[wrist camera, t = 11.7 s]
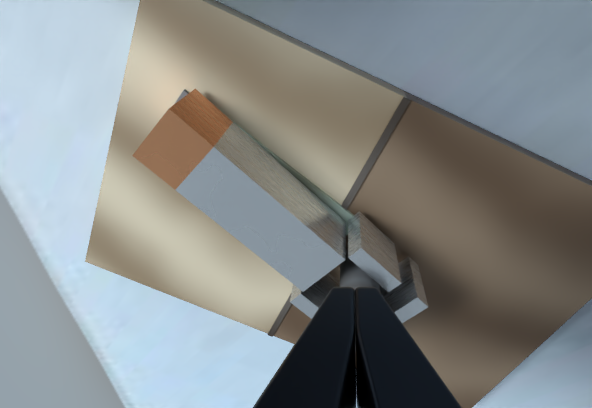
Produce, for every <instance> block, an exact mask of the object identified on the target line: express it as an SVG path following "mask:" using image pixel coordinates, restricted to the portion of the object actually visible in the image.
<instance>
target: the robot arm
mask: <svg viewBox="0 0 592 408" xmlns="http://www.w3.org/2000/svg"><path fill="white" fill-rule="evenodd" d="M355 335H356V341H355ZM356 387H357V408H462V407H461V406H460V404H459V403H458V402H457V400H456V399H455V397H454V396H453V395H452V393H451V392H450V390H449V389H448V387H447V386H446V385H445V383H444V382H443V380H442V379H441V378H440V376H439V375H438V373H437V372H436V371H435V369H434V368H433V366H432V365H431V363H430V362H429V361H428V359H427V358H426V356H425V355H424V354H423V352H422V351H421V349H420V348H419V346H418V345H417V344H416V342H415V341H414V339H413V338H412V337H411V335H410V334H409V332H408V331H407V330H406V328H405V327H404V325H403V324H402V322H401V321H400V320H399V318H398V317H397V315H396V314H395V313H394V311H393V310H392V308H391V307H390V305H389V304H388V303H387V301H386V300H385V298H384V297H383V296H382V294H381V293H380V291H379V290H378V289H377V288H376V287H357V288H356V289H355V291H354V288H352V287H333V288H332V289H331V290H330V292H329V293H328V295H327V296H326V298H325V299H324V301H323V302H322V304H321V305H320V307H319V309H318V310H317V312H316V313H315V315H314V316H313V318H312V319H311V321H310V322H309V324H308V325H307V327H306V328H305V330H304V331H303V333H302V334H301V336H300V337H299V339H298V340H297V342H296V343H295V345H294V346H293V348H292V349H291V351H290V352H289V354H288V355H287V357H286V358H285V360H284V361H283V363H282V364H281V366H280V367H279V369H278V370H277V372H276V373H275V375H274V376H273V378H272V380H271V381H270V383H269V384H268V386H267V387H266V389H265V390H264V392H263V393H262V395H261V396H260V398H259V399H258V401H257V402H256V404H255V405H254V407H253V408H356Z"/></svg>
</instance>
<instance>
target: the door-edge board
mask: <svg viewBox="0 0 592 408" xmlns="http://www.w3.org/2000/svg"><path fill="white" fill-rule="evenodd" d="M194 89H197V90H198V91H199V92H200V93H201V94H202V95H203V96H204V97H206V98H207V99H208V100H209V101H210V102H211V103H212V104H213V105H215V106H216V107H217V108H218V109H219V110H220V111H221V112H222V113H223V114H225V115H226V116H227V117H228V118H229V119H230V120H231V121H232V122H234V123H235V124H236V125H237V126H238V127H239V128H240V129H241V130H243V131H244V132H245V133H246V134H247V135H248V136H249V137H250V138H252V139H253V140H254V141H255V142H256V143H257V144H258V145H259V146H261V147H262V148H263V149H264V150H265V151H266V152H267V153H268V154H270V155H271V156H272V157H273V158H274V159H275V160H276V161H277V162H279V163H280V164H281V165H282V166H283V167H284V168H285V169H286V170H288V171H289V172H290V173H291V174H292V175H293V176H294V177H295V178H297V179H298V180H299V181H300V182H301V183H302V184H303V185H304V186H306V187H307V188H308V189H309V190H310V191H311V192H312V193H313V194H314V195H316V196H317V197H318V198H319V199H320V200H321V201H322V202H323V203H325V204H326V205H327V206H328V207H329V208H330V209H331V210H332V211H334V212H335V213H336V214H337V215H338V216H339V217H340V218H341V219H343V220H344V221H345V222H346V260H345V261H343V262H342V263H341V264H339V265H338V266H337V267H335V268H334V269H333V270H331V271H330V272H329V273H330V274H331V275H332V276H333V277H335V278H336V279H337V280H338V281H339V282H340V287H352V288H354V291H355V289H356V288H357V287H376V288H377V289H378V290H379V291H380V286H379V284H378V283H377V282H376V281H375V280H373V279H372V278H371V277H370V276H369V275H368V274H366V273H365V272H364V271H363V270H362V269H361V268H360V267H358V266H357V265H356V264H355V263H354V262H353V261H351V260H350V259H349V258H348V220H349V219H351V218H352V217H353V216H354V215H355V214H357V213H358V212H361V213H362V214H363V215H364V216H365V217H366V218H367V219H368V220H369V221H370V222H372V223H373V224H374V225H375V226H376V227H377V228H378V229H379V230H380V231H381V232H383V233H384V234H385V235H386V236H387V237H388V238H389V239H390V240H391V241H392V242H394V243H395V249H396V255H397V260H398V263H400V262H401V261H403V260H404V259H405V258H407V257H408V256H409V257H410V258H411V259H412V260H413V261H414V262H415V263H417V264H418V266H419V270H420V275H421V279H422V283H423V287H424V291H425V295H426V299H427V303H428V308H426V309H425V310H423V311H421V312H420V313H418V314H416V315H415V316H413V317H412V318H410V319H408V320H407V321H405V322H404V323H402V324H403V325H404V327H405V328H406V330H407V331H408V332H409V334H410V335H411V337H412V338H413V339H414V341H415V342H416V344H417V345H418V346H419V348H420V349H421V351H422V352H423V354H424V355H425V356H426V358H427V359H428V361H429V362H430V363H431V365H432V366H433V368H434V369H435V371H436V372H437V373H438V375H439V376H440V378H441V379H442V380H443V382H444V383H445V385H446V386H447V387H448V389H449V390H450V392H451V393H452V395H453V396H454V397H455V399H456V400H457V402H458V403H459V404H460V406H461V407H462V408H472V407H473V406H474V405H475V404H476V403H477V402H478V401H480V400H481V399H482V398H483V397H484V396H485V395H486V394H487V393H488V392H489V391H491V390H492V389H493V388H494V387H495V386H496V385H497V384H498V383H499V382H500V381H502V380H503V379H504V378H505V377H506V376H507V375H508V374H509V373H510V372H511V371H512V370H514V369H515V368H516V367H517V366H518V365H519V364H520V363H521V362H522V361H523V360H525V359H526V358H527V357H528V356H529V355H530V354H531V353H532V352H533V351H534V350H536V349H537V348H538V347H539V346H540V345H541V344H542V343H543V342H544V341H545V340H546V339H548V338H549V337H550V336H551V335H552V334H553V333H554V332H555V331H556V330H557V329H559V328H560V327H561V326H562V325H563V324H564V323H565V322H566V321H567V320H568V319H569V318H571V317H572V316H573V315H574V314H575V313H576V312H577V311H578V310H579V309H580V308H582V307H583V306H584V305H585V304H586V303H587V302H588V301H589V300H590V299H591V298H592V181H591V180H589V179H587V178H585V177H583V176H580V175H578V174H576V173H574V172H572V171H570V170H568V169H566V168H564V167H562V166H560V165H557V164H555V163H553V162H551V161H549V160H547V159H545V158H543V157H541V156H539V155H537V154H535V153H532V152H530V151H528V150H526V149H524V148H522V147H520V146H518V145H516V144H514V143H512V142H509V141H507V140H505V139H503V138H501V137H499V136H497V135H495V134H493V133H491V132H489V131H486V130H484V129H482V128H480V127H478V126H476V125H474V124H472V123H470V122H468V121H466V120H464V119H461V118H459V117H457V116H455V115H453V114H451V113H449V112H447V111H445V110H443V109H441V108H438V107H436V106H434V105H432V104H430V103H428V102H426V101H424V100H422V99H420V98H418V97H415V96H413V95H411V94H409V93H407V92H405V91H403V90H401V89H399V88H397V87H395V86H393V85H390V84H388V83H386V82H384V81H382V80H380V79H378V78H376V77H374V76H372V75H370V74H367V73H365V72H363V71H361V70H359V69H357V68H355V67H353V66H351V65H349V64H347V63H345V62H342V61H340V60H338V59H336V58H334V57H332V56H330V55H328V54H326V53H324V52H322V51H319V50H317V49H315V48H313V47H311V46H309V45H307V44H305V43H303V42H301V41H299V40H296V39H294V38H292V37H290V36H288V35H286V34H284V33H282V32H280V31H278V30H276V29H274V28H271V27H269V26H267V25H265V24H263V23H261V22H259V21H257V20H255V19H253V18H251V17H248V16H246V15H244V14H242V13H240V12H238V11H236V10H234V9H232V8H230V7H228V6H226V5H223V4H221V3H219V2H217V1H215V0H140V3H139V8H138V12H137V17H136V22H135V27H134V31H133V36H132V41H131V46H130V50H129V55H128V60H127V65H126V69H125V74H124V79H123V84H122V89H121V93H120V98H119V103H118V108H117V112H116V117H115V122H114V127H113V131H112V136H111V141H110V146H109V150H108V155H107V160H106V165H105V170H104V174H103V179H102V184H101V189H100V193H99V198H98V203H97V208H96V212H95V217H94V222H93V227H92V232H91V236H90V241H89V246H88V251H87V255H86V260H85V262H88V263H90V264H93V265H95V266H98V267H100V268H103V269H105V270H108V271H110V272H113V273H116V274H118V275H121V276H123V277H126V278H128V279H131V280H133V281H136V282H138V283H141V284H143V285H146V286H149V287H151V288H154V289H156V290H159V291H161V292H164V293H166V294H169V295H171V296H174V297H176V298H179V299H182V300H184V301H187V302H189V303H192V304H194V305H197V306H199V307H202V308H204V309H207V310H209V311H212V312H215V313H217V314H220V315H222V316H225V317H227V318H230V319H232V320H235V321H237V322H240V323H242V324H245V325H248V326H250V327H253V328H255V329H258V330H260V331H263V332H265V333H268V335H269V336H272V337H273V336H275V337H278V338H281V339H283V340H286V341H288V342H291V343H293V344H295V343H296V342H297V340H298V339H299V337H300V336H301V334H302V333H303V331H304V330H305V328H306V327H307V325H308V324H309V322H310V321H311V318H310V317H308V316H307V315H306V314H305V313H303V312H302V311H301V310H299V309H298V308H297V307H296V306H294V305H293V304H292V303H290V298H291V292H292V287H293V283H291V282H290V281H289V280H288V279H286V278H285V277H284V276H282V275H281V274H280V273H279V272H277V271H276V270H275V269H274V268H272V267H271V266H270V265H269V264H267V263H266V262H265V261H264V260H262V259H261V258H260V257H259V256H257V255H256V254H255V253H254V252H252V251H251V250H250V249H249V248H247V247H246V246H245V245H244V244H242V243H241V242H240V241H239V240H237V239H236V238H235V237H234V236H232V235H231V234H230V233H229V232H227V231H226V230H225V229H224V228H222V227H221V226H220V225H219V224H217V223H216V222H215V221H214V220H212V219H211V218H210V217H208V216H207V215H206V214H205V213H203V212H202V211H201V210H200V209H198V208H197V207H196V206H195V205H193V204H192V203H191V202H190V201H188V200H187V199H186V198H185V197H183V196H182V195H181V194H180V193H178V192H177V191H176V190H175V189H173V188H172V187H171V186H170V185H168V184H167V183H166V182H165V181H163V180H162V179H161V178H160V177H158V176H157V175H156V174H155V173H153V172H152V171H151V170H150V169H148V168H147V167H146V166H145V165H143V164H142V163H141V162H140V161H138V160H137V159H136V158H135V157H133V156H132V155H133V154H134V152H135V151H136V150H137V149H138V147H139V146H140V145H141V143H142V142H143V141H144V140H145V138H146V137H147V136H148V135H149V133H150V132H151V131H152V129H153V128H154V127H155V126H156V124H157V123H158V122H159V120H160V119H161V118H162V117H163V115H164V114H165V113H166V111H167V110H168V109H169V108H170V107H171V106H173V105H174V104H175V103H177V102H178V101H179V100H181V99H182V98H183V97H185V96H186V95H187V94H189V93H190V92H191V91H193V90H194ZM387 303H388V302H387ZM355 341H356V335H355Z"/></svg>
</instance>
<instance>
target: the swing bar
mask: <svg viewBox="0 0 592 408" xmlns="http://www.w3.org/2000/svg"><path fill="white" fill-rule="evenodd" d="M132 156H133V157H135V158H136V159H137V160H138V161H140V162H141V163H142V164H143V165H145V166H146V167H147V168H148V169H150V170H151V171H152V172H153V173H155V174H156V175H157V176H158V177H160V178H161V179H162V180H163V181H165V182H166V183H167V184H168V185H170V186H171V187H172V188H173V189H175V190H176V191H177V192H178V193H180V194H181V195H182V196H183V197H185V198H186V199H187V200H188V201H190V202H191V203H192V204H193V205H195V206H196V207H197V208H198V209H200V210H201V211H202V212H203V213H205V214H206V215H207V216H208V217H210V218H211V219H212V220H214V221H215V222H216V223H217V224H219V225H220V226H221V227H222V228H224V229H225V230H226V231H227V232H229V233H230V234H231V235H232V236H234V237H235V238H236V239H237V240H239V241H240V242H241V243H242V244H244V245H245V246H246V247H247V248H249V249H250V250H251V251H252V252H254V253H255V254H256V255H257V256H259V257H260V258H261V259H262V260H264V261H265V262H266V263H267V264H269V265H270V266H271V267H272V268H274V269H275V270H276V271H277V272H279V273H280V274H281V275H282V276H284V277H285V278H286V279H288V280H289V281H290V282H291V283H293V287H292V292H291V298H290V303H292V304H293V305H294V306H296V307H297V308H298V309H299V310H301V311H302V312H303V313H305V314H306V315H307V316H308V317H310V318H311V319H312V318H313V316H314V315H315V313H316V312H317V310H318V309H319V307H320V305H321V304H322V302H323V301H324V299H325V298H326V296H327V295H328V293H329V292H330V290H331V289H332V288H333V287H340V282H339V281H338V280H337V279H336V278H335V277H333V276H332V275H331V274H330V273H329V272H330V271H331V270H333V269H334V268H335V267H337V266H338V265H339V264H341V263H342V262H343V261H345V260H346V222H345V221H344V220H343V219H341V218H340V217H339V216H338V215H337V214H336V213H335V212H334V211H332V210H331V209H330V208H329V207H328V206H327V205H326V204H325V203H323V202H322V201H321V200H320V199H319V198H318V197H317V196H316V195H314V194H313V193H312V192H311V191H310V190H309V189H308V188H307V187H306V186H304V185H303V184H302V183H301V182H300V181H299V180H298V179H297V178H295V177H294V176H293V175H292V174H291V173H290V172H289V171H288V170H286V169H285V168H284V167H283V166H282V165H281V164H280V163H279V162H277V161H276V160H275V159H274V158H273V157H272V156H271V155H270V154H268V153H267V152H266V151H265V150H264V149H263V148H262V147H261V146H259V145H258V144H257V143H256V142H255V141H254V140H253V139H252V138H250V137H249V136H248V135H247V134H246V133H245V132H244V131H243V130H241V129H240V128H239V127H238V126H237V125H236V124H235V123H234V122H232V121H231V120H230V119H229V118H228V117H227V116H226V115H225V114H223V113H222V112H221V111H220V110H219V109H218V108H217V107H216V106H215V105H213V104H212V103H211V102H210V101H209V100H208V99H207V98H206V97H204V96H203V95H202V94H201V93H200V92H199V91H198V90H197V89H194V90H193V91H191V92H190V93H189V94H187V95H186V96H185V97H183V98H182V99H181V100H179V101H178V102H177V103H175V104H174V105H173V106H171V107H170V108H169V109H168V110H167V111H166V113H165V114H164V115H163V117H162V118H161V119H160V120H159V122H158V123H157V124H156V126H155V127H154V128H153V129H152V131H151V132H150V133H149V135H148V136H147V137H146V138H145V140H144V141H143V142H142V143H141V145H140V146H139V147H138V149H137V150H136V151H135V152H134V154H133V155H132ZM348 258H349V259H350V260H351V261H353V262H354V263H355V264H356V265H357V266H358V267H360V268H361V269H362V270H363V271H364V272H365V273H366V274H368V275H369V276H370V277H371V278H372V279H373V280H375V281H376V282H377V283H378V284H379V286H380V293H381V294H382V296H383V297H384V298H385V300H386V301H387V302H388V304H389V305H390V307H391V308H392V310H393V311H394V313H395V314H396V315H397V317H398V318H399V320H400V321H401V322H402V323H404V322H405V321H407V320H408V319H410V318H412V317H413V316H415V315H416V314H418V313H420V312H421V311H423V310H425V309H426V308H428V303H427V299H426V295H425V291H424V287H423V283H422V279H421V275H420V270H419V266H418V264H417V263H415V262H414V261H413V260H412V259H411V258H410V257H409V256H408V257H407V258H405V259H404V260H403V261H401V262H400V263H398V260H397V255H396V249H395V243H394V242H392V241H391V240H390V239H389V238H388V237H387V236H386V235H385V234H384V233H383V232H381V231H380V230H379V229H378V228H377V227H376V226H375V225H374V224H373V223H372V222H370V221H369V220H368V219H367V218H366V217H365V216H364V215H363V214H362V213H361V212H358V213H357V214H355V215H354V216H353V217H352V218H351V219H349V220H348Z"/></svg>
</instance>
